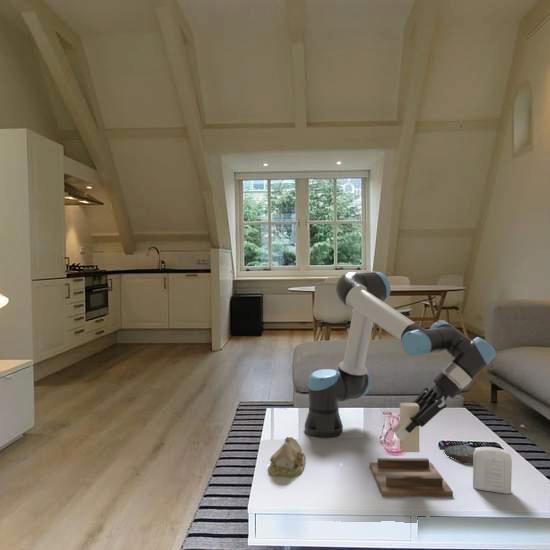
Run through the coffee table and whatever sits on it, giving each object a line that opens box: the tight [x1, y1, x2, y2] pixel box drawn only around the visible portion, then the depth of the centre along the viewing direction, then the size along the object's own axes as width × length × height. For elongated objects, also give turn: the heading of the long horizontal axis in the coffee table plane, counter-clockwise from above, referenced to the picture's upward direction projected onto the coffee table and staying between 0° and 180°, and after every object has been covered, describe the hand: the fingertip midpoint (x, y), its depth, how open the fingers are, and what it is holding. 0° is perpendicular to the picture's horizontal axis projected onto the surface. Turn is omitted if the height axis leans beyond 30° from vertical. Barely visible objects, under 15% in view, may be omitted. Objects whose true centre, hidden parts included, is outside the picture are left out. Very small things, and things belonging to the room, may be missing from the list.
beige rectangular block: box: [399, 402, 420, 453], centre depth 133 cm, size 3×5×14 cm, turn 89°
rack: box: [369, 457, 454, 497], centre depth 134 cm, size 18×20×4 cm
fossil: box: [443, 444, 476, 465], centre depth 151 cm, size 10×13×4 cm
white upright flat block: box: [472, 446, 513, 495], centre depth 129 cm, size 10×4×12 cm, turn 72°
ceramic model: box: [267, 436, 307, 478], centre depth 143 cm, size 14×11×10 cm
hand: (396, 435), depth 133 cm, fingers closed on beige rectangular block, 3 cm apart
